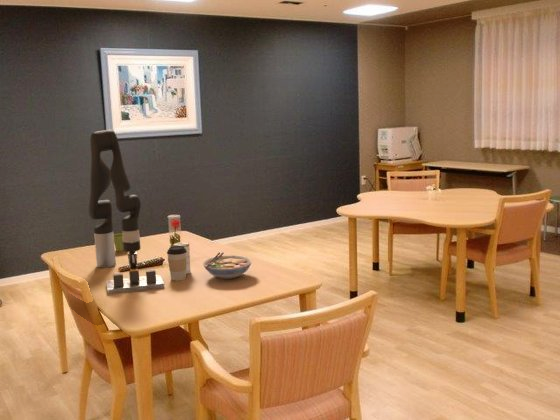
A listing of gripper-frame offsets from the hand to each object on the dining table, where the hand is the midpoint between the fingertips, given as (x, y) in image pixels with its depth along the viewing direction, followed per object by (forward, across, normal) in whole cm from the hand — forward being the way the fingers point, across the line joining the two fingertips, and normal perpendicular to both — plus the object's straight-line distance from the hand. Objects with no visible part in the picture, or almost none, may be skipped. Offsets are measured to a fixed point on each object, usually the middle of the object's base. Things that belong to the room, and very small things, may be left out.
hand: (134, 277), depth 267 cm
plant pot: (+3, -65, -2) cm, 65 cm away
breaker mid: (+1, +4, 0) cm, 4 cm away
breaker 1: (+1, +7, -7) cm, 10 cm away
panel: (+3, +4, 0) cm, 5 cm away
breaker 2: (+1, +7, +7) cm, 10 cm away
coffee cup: (+3, -1, +20) cm, 20 cm away
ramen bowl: (+3, +6, +42) cm, 43 cm away
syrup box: (+3, -8, +23) cm, 25 cm away
